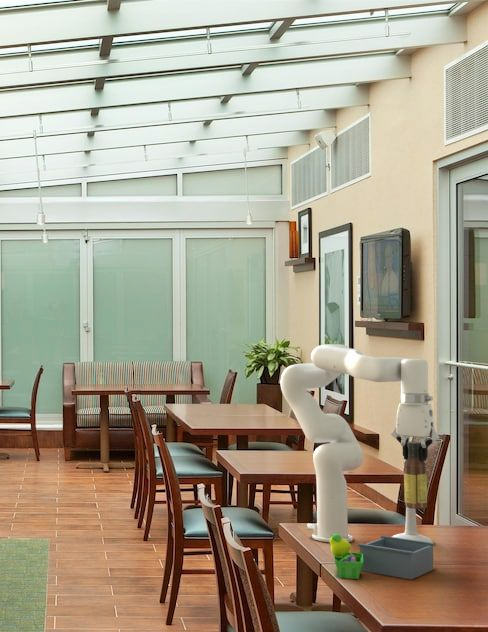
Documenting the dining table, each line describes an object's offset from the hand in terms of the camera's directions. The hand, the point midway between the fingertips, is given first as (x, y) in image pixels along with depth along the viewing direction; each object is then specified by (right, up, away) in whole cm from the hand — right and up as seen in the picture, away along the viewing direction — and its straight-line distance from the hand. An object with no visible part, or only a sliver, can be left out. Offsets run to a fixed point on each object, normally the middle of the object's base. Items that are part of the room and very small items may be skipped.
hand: (415, 459), depth 290 cm
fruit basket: (-28, -30, -20) cm, 45 cm away
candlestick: (+8, -30, +22) cm, 38 cm away
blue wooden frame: (-12, -30, -15) cm, 35 cm away
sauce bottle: (0, -15, 0) cm, 15 cm away
